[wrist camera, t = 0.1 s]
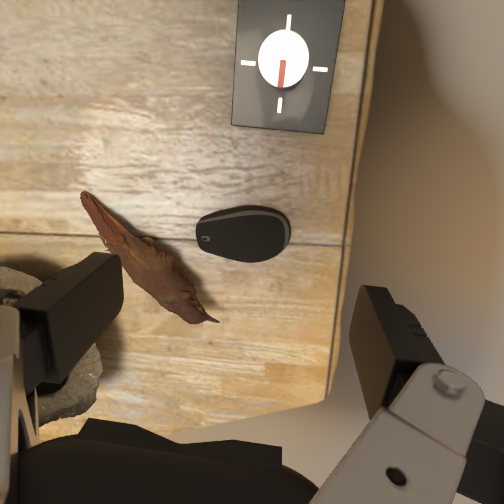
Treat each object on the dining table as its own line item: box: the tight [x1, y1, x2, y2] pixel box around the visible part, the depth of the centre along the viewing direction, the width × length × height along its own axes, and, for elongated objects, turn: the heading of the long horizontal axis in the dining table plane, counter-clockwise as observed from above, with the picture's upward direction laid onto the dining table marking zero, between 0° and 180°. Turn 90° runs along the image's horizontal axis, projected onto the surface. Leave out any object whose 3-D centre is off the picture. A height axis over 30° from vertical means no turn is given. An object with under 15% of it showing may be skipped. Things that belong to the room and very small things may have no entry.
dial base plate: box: [231, 0, 346, 134], centre depth 35 cm, size 12×10×3 cm
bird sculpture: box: [80, 191, 220, 324], centre depth 45 cm, size 7×25×5 cm, turn 49°
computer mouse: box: [196, 206, 291, 263], centre depth 42 cm, size 7×12×4 cm, turn 95°
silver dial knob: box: [258, 30, 309, 91], centre depth 31 cm, size 4×4×5 cm
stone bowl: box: [0, 266, 103, 427], centre depth 50 cm, size 25×25×9 cm
